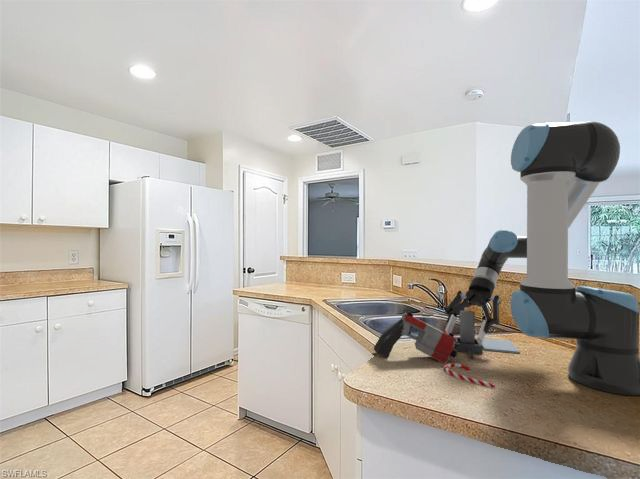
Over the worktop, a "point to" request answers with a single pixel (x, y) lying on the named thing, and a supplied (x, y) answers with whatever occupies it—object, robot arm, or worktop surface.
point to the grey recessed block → (469, 347)
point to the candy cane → (446, 369)
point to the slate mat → (499, 345)
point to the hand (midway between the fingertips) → (463, 336)
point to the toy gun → (418, 338)
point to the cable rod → (467, 326)
